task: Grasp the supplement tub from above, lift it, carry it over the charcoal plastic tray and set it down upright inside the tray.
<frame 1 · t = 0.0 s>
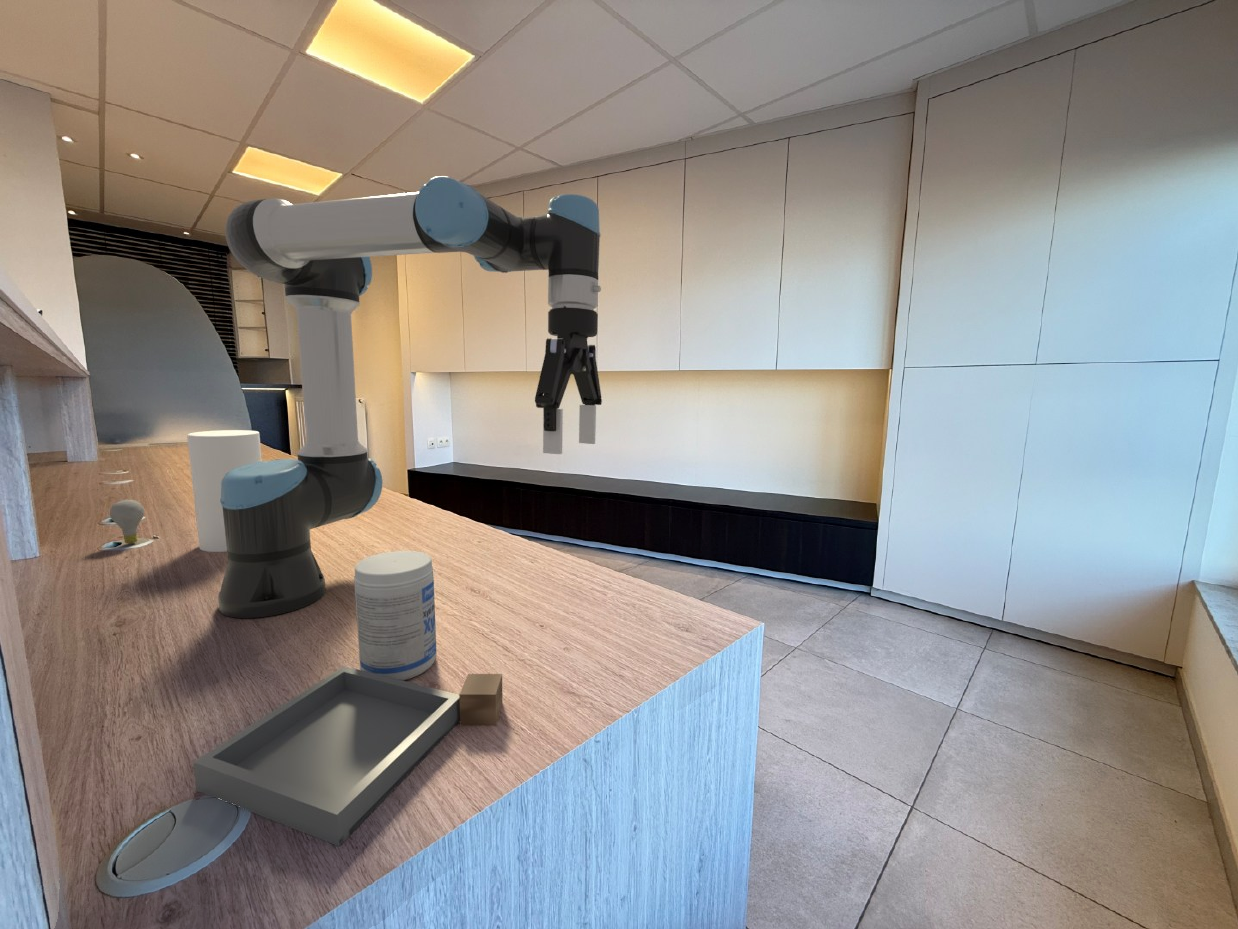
hand: (571, 448, 80), 28 cm above the table, fingers open, 13 cm apart
walnut block: (482, 715, 59), on the table
light bulb: (131, 544, 112), on the table
cylinder: (235, 543, 115), on the table
supplement tub: (399, 666, 69), on the table
tray: (343, 751, 53), on the table
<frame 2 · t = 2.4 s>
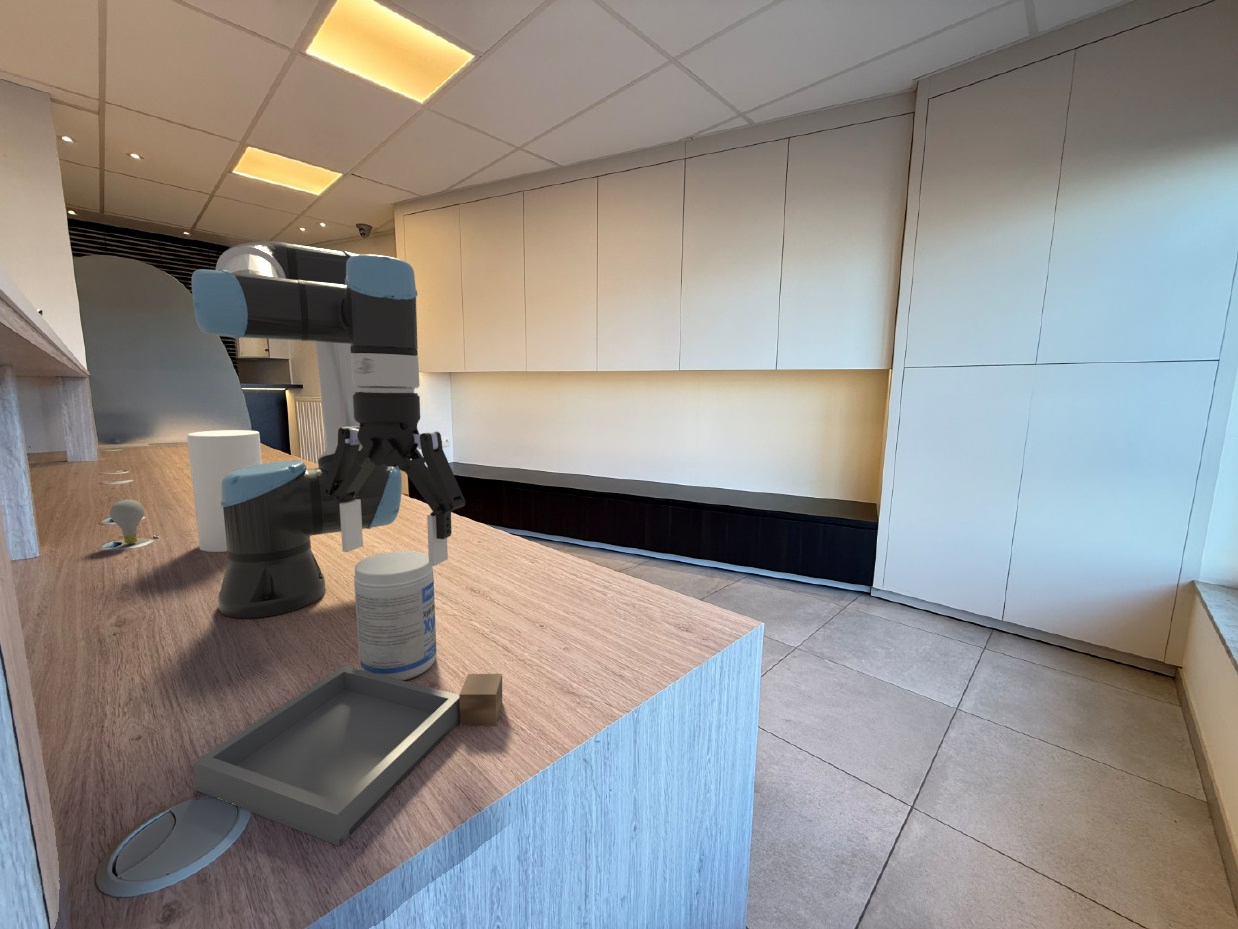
hand: (394, 555, 66), 15 cm above the table, fingers open, 13 cm apart
nothing on the table moved.
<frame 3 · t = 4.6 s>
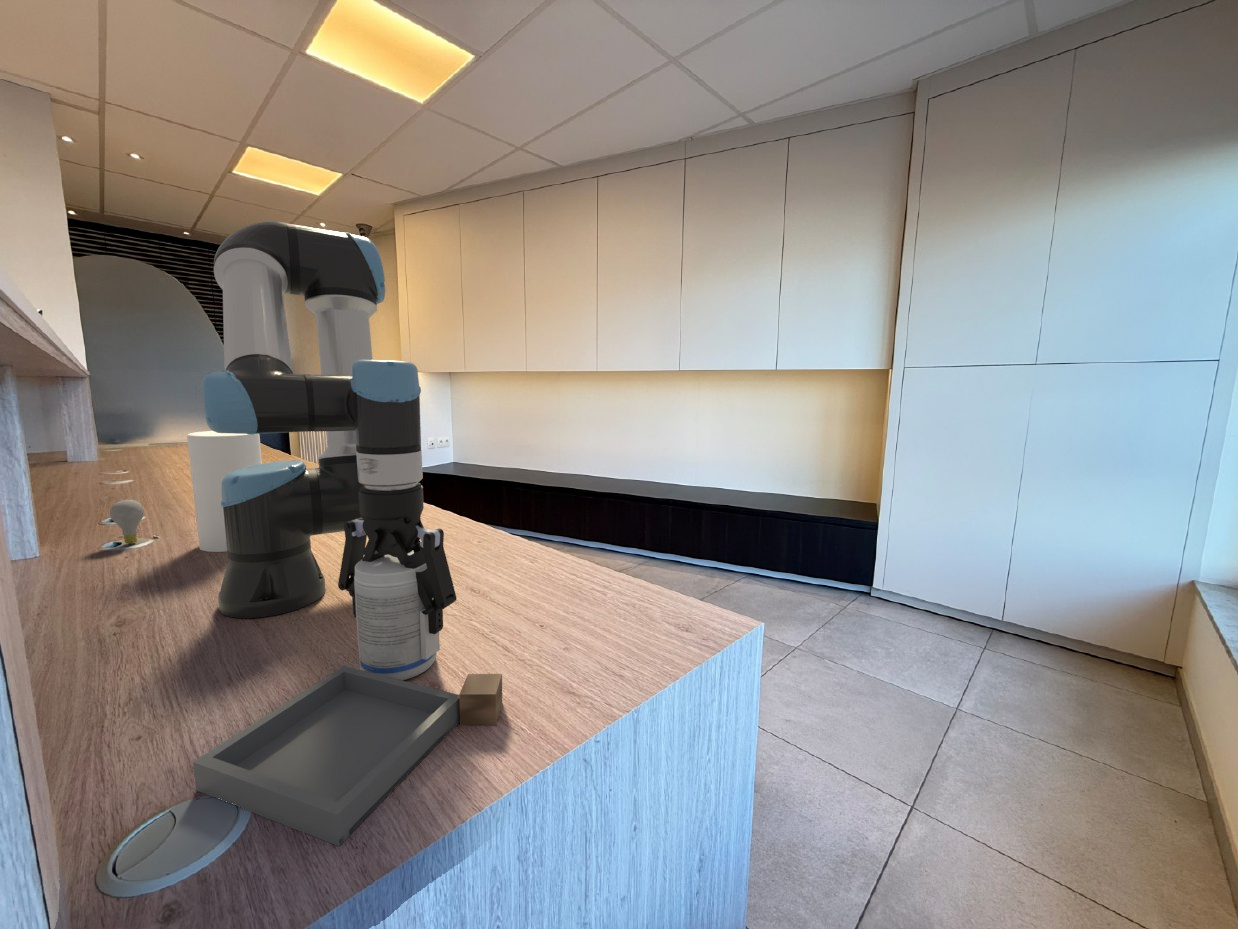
hand: (398, 646, 68), 3 cm above the table, fingers closed on supplement tub, 10 cm apart
supplement tub: (399, 666, 69), on the table, touching gripper
everything else where it was.
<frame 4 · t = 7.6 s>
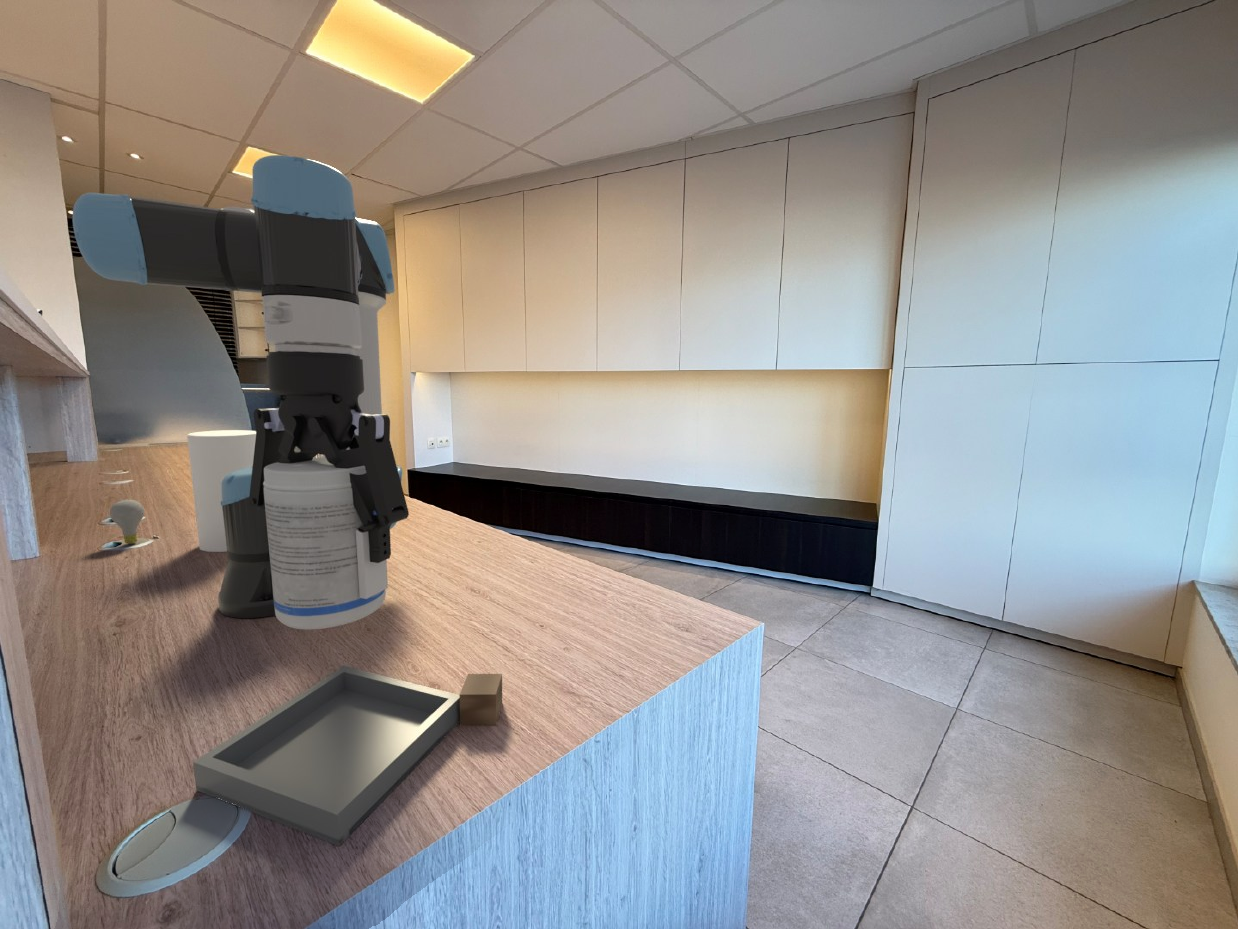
hand: (331, 584, 50), 18 cm above the table, fingers closed on supplement tub, 10 cm apart
supplement tub: (333, 612, 50), point 15 cm above the table, touching gripper
everything else where it was.
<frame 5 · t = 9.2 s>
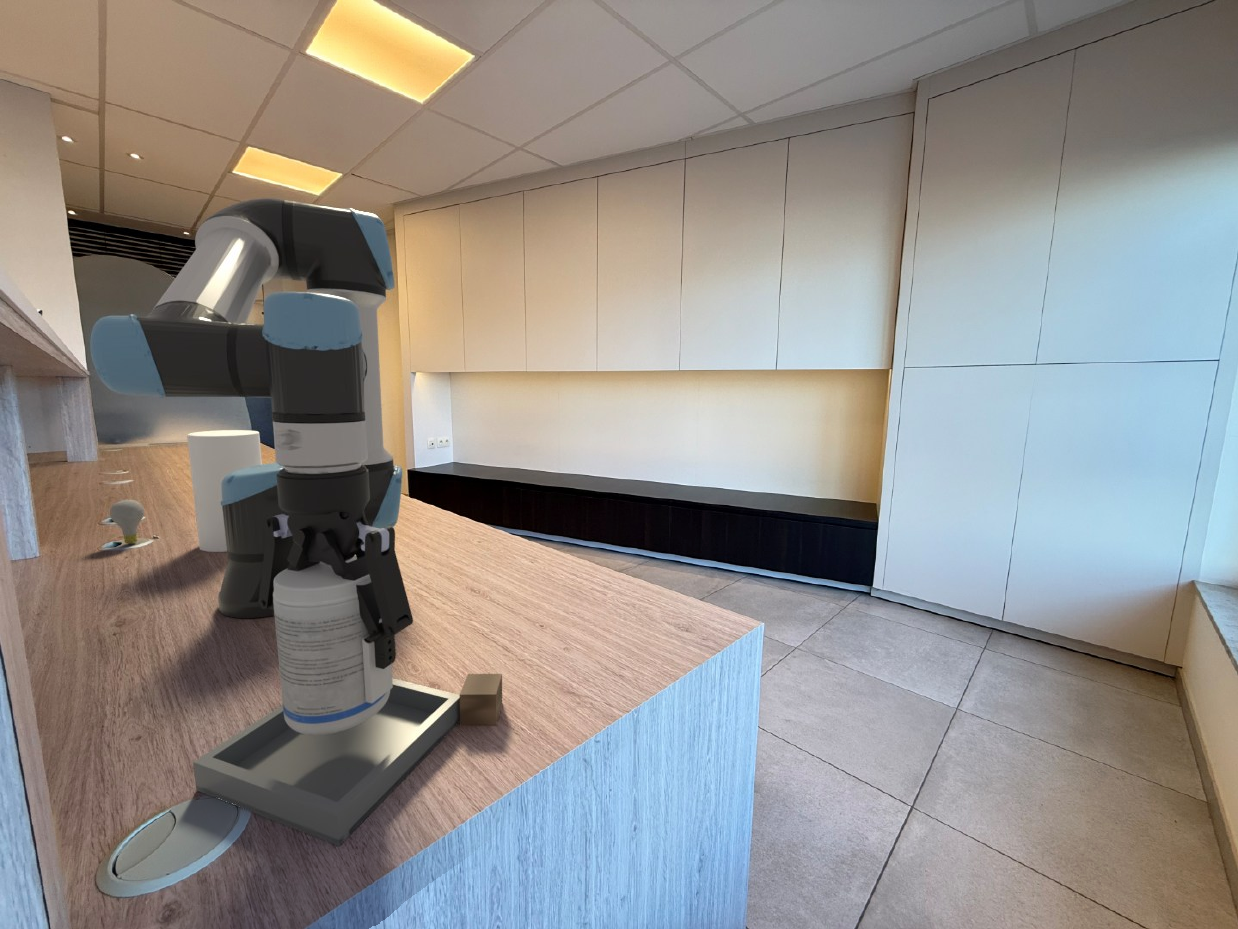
hand: (338, 683, 51), 8 cm above the table, fingers closed on supplement tub, 10 cm apart
supplement tub: (339, 709, 52), point 5 cm above the table, touching gripper
everything else where it was.
when the fingers open (5 cm above the table, at t = 10.8 s): supplement tub drops 2 cm, resting on tray.
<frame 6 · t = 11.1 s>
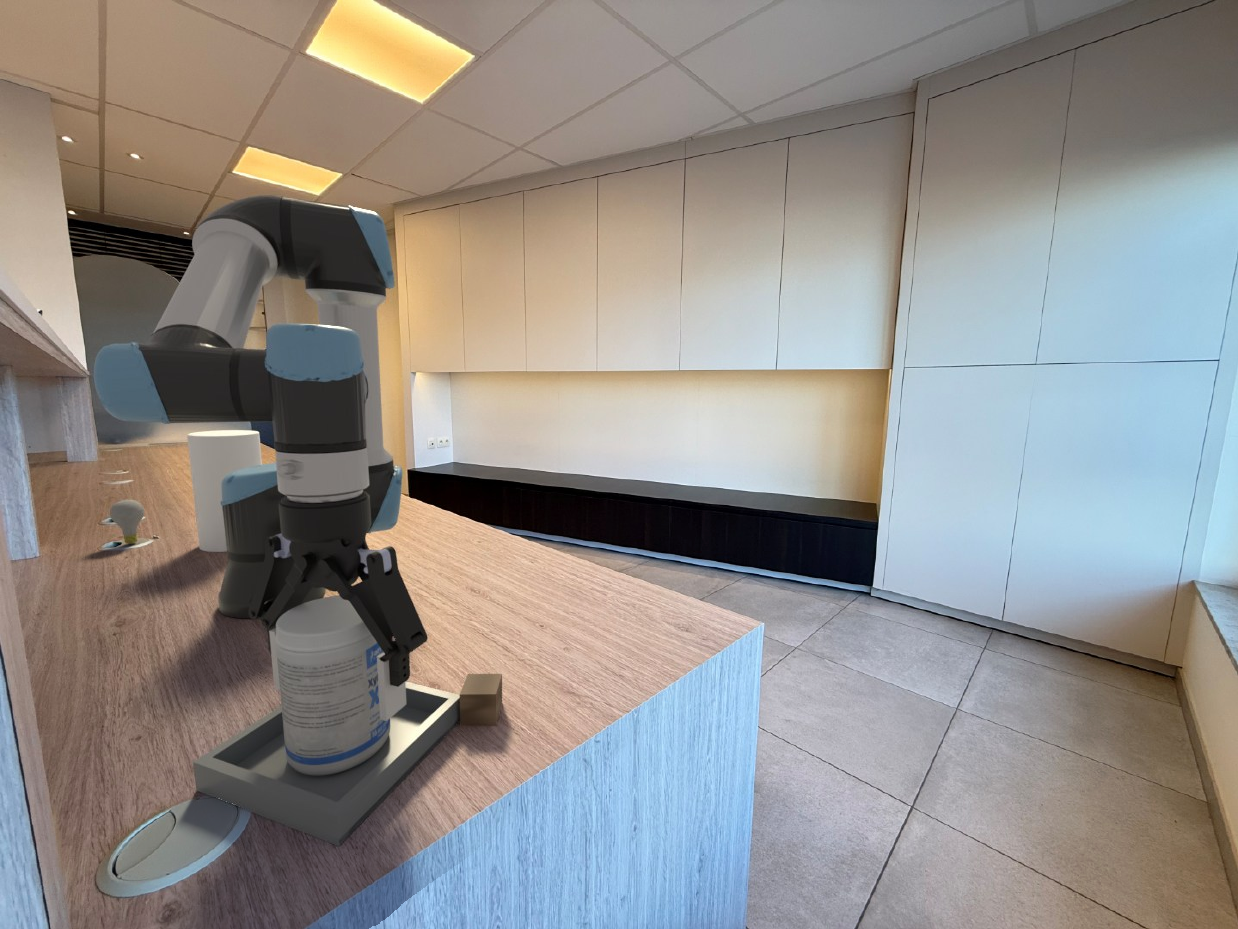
hand: (339, 697, 52), 6 cm above the table, fingers open, 13 cm apart
supplement tub: (340, 747, 53), resting on tray
everything else where it was.
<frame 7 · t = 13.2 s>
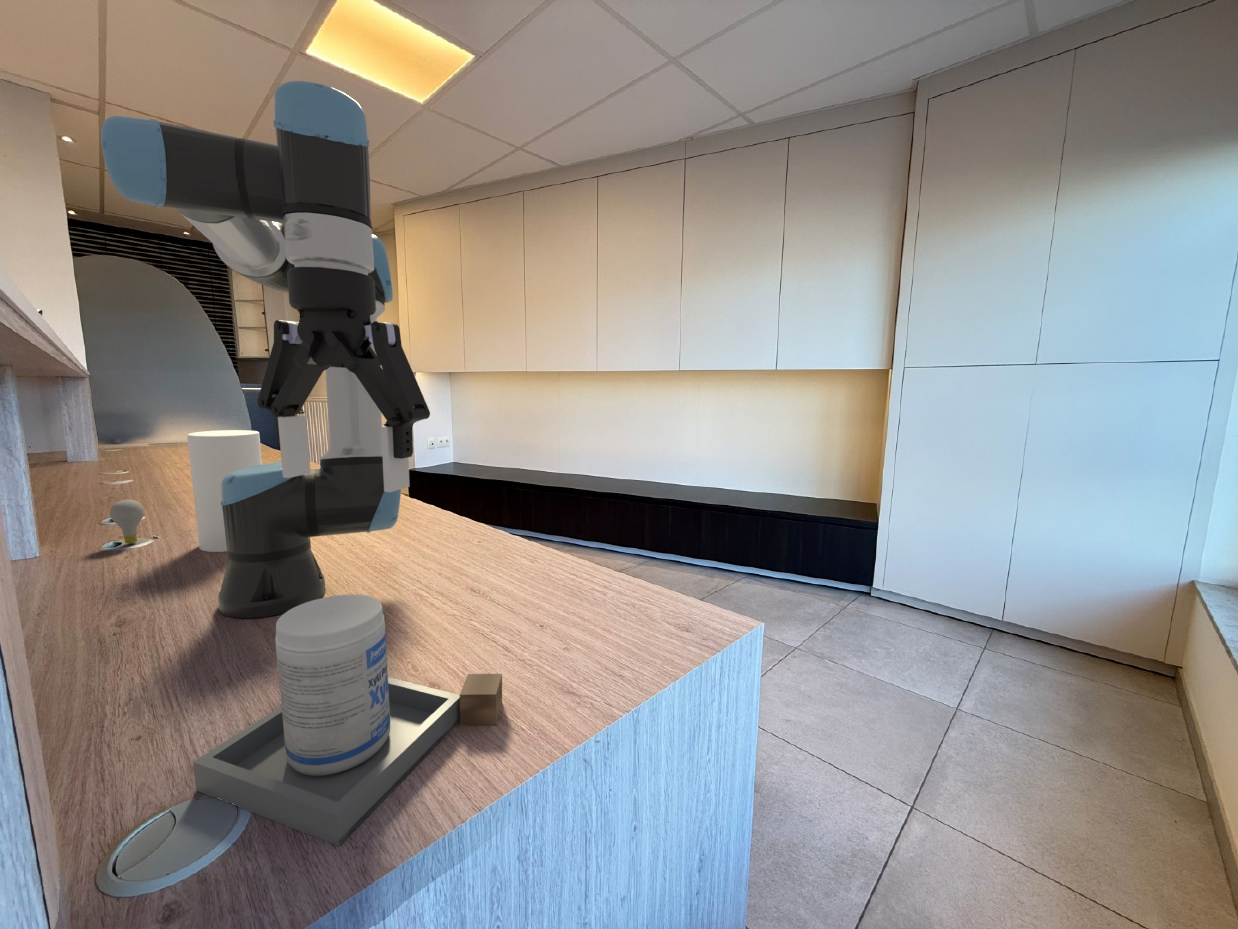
hand: (345, 482, 54), 27 cm above the table, fingers open, 13 cm apart
nothing on the table moved.
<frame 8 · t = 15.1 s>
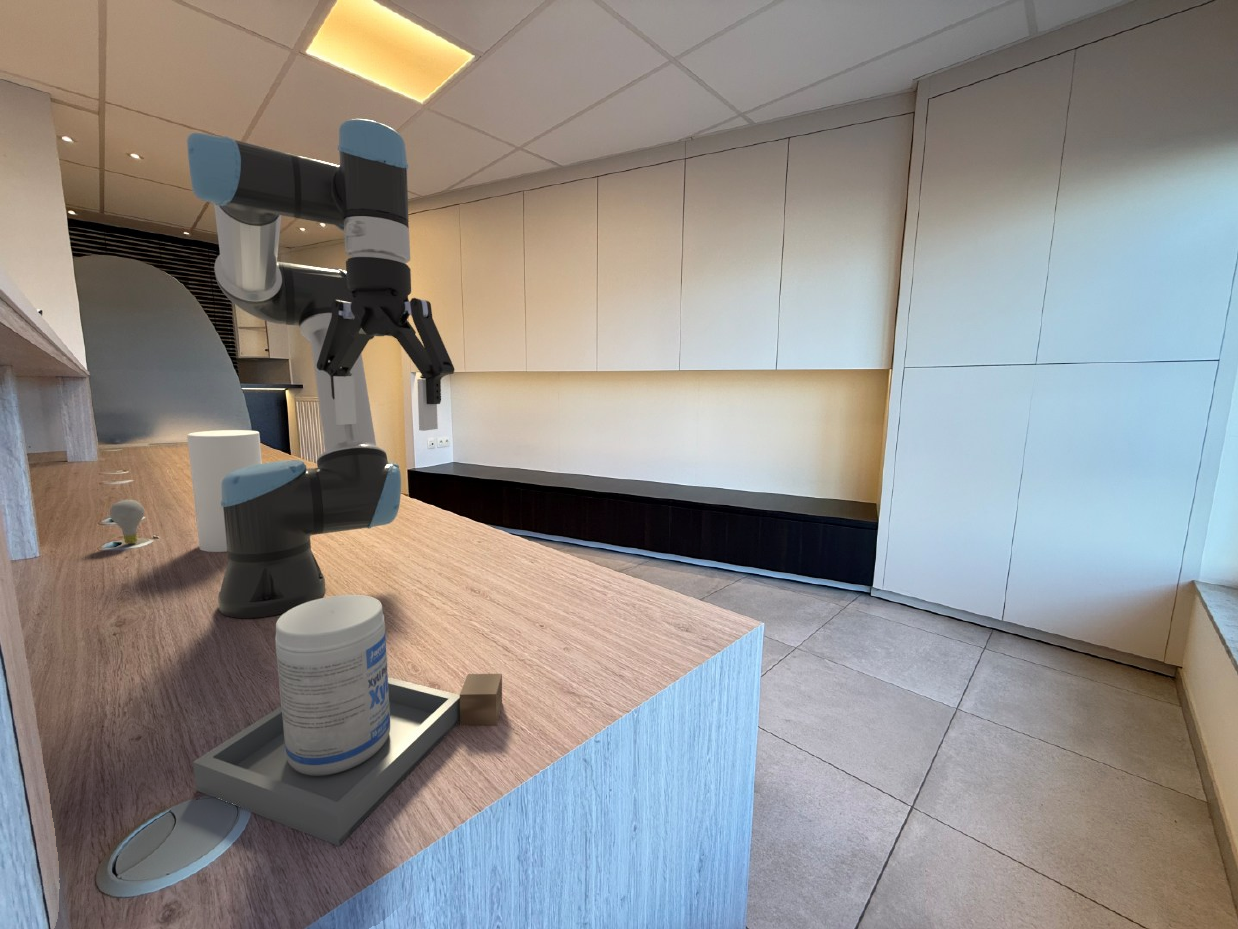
hand: (386, 427, 68), 32 cm above the table, fingers open, 13 cm apart
nothing on the table moved.
at the end: supplement tub inside the target area on the tray (0.3 cm from its centre), point 0.4 cm above the tray's base; supplement tub tilted 0°; the gripper is holding nothing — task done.
